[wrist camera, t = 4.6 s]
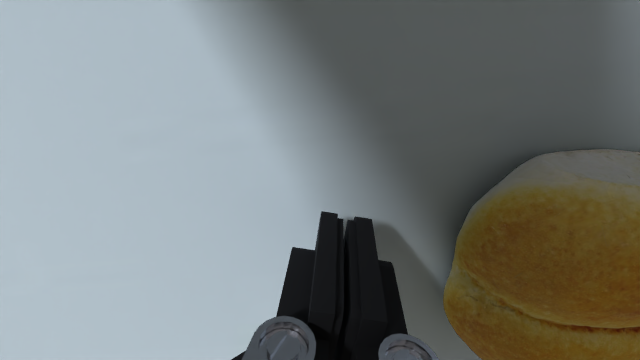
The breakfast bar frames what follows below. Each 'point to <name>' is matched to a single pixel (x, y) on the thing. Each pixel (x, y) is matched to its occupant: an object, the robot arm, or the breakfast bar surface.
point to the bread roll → (552, 261)
